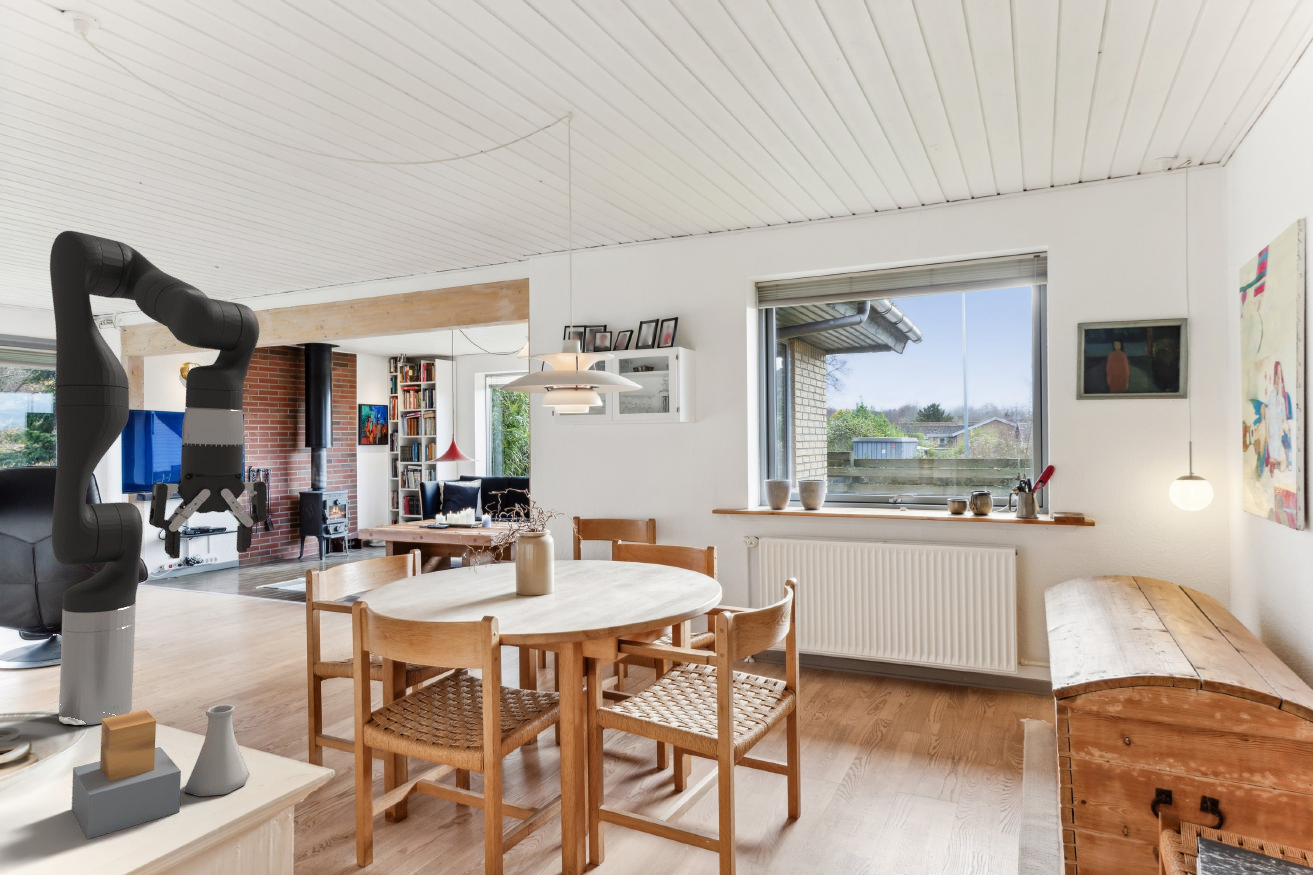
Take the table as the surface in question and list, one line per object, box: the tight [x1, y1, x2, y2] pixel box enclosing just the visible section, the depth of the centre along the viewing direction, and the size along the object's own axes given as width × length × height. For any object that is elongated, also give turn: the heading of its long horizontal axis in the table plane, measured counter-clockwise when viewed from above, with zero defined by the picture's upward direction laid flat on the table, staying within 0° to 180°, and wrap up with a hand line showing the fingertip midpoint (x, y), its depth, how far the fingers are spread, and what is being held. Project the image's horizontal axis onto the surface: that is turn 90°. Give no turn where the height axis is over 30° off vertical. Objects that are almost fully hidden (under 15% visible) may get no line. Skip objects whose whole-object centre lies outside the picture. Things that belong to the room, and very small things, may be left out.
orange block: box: [99, 709, 157, 781], centre depth 91 cm, size 4×4×6 cm
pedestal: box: [71, 746, 182, 840], centre depth 91 cm, size 9×9×5 cm
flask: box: [183, 703, 250, 797], centre depth 98 cm, size 7×7×10 cm
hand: (208, 554), depth 107 cm, fingers open, 8 cm apart
